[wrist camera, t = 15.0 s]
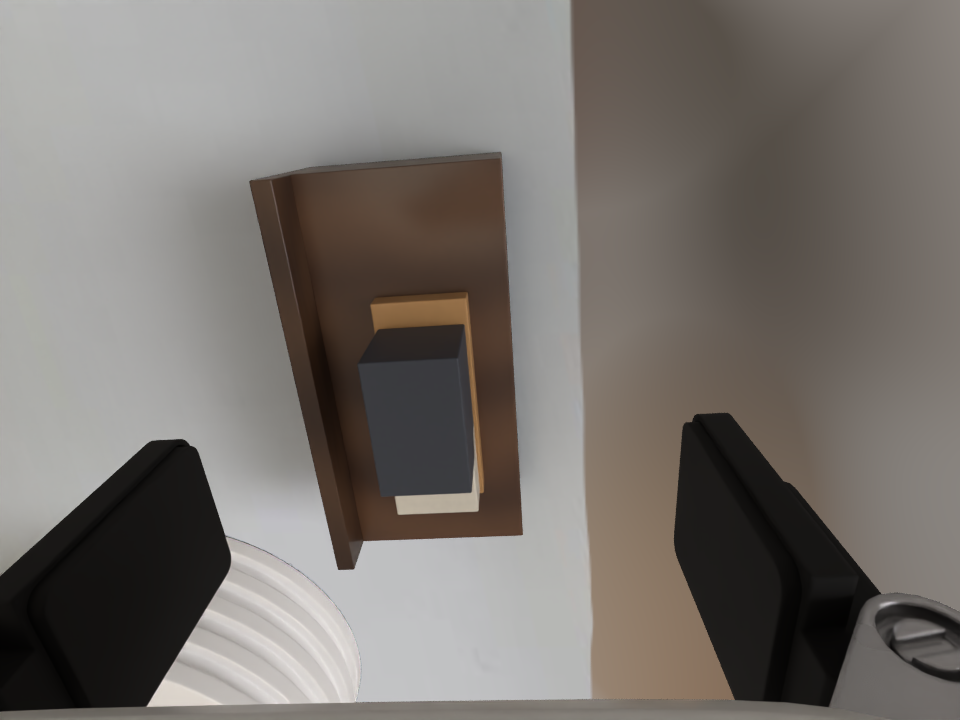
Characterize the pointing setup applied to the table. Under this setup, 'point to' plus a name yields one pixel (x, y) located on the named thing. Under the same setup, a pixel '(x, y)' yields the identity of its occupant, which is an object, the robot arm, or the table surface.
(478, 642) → the table surface
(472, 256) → the book shelf
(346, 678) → the plate stack
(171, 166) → the table surface
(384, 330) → the black and tan block
